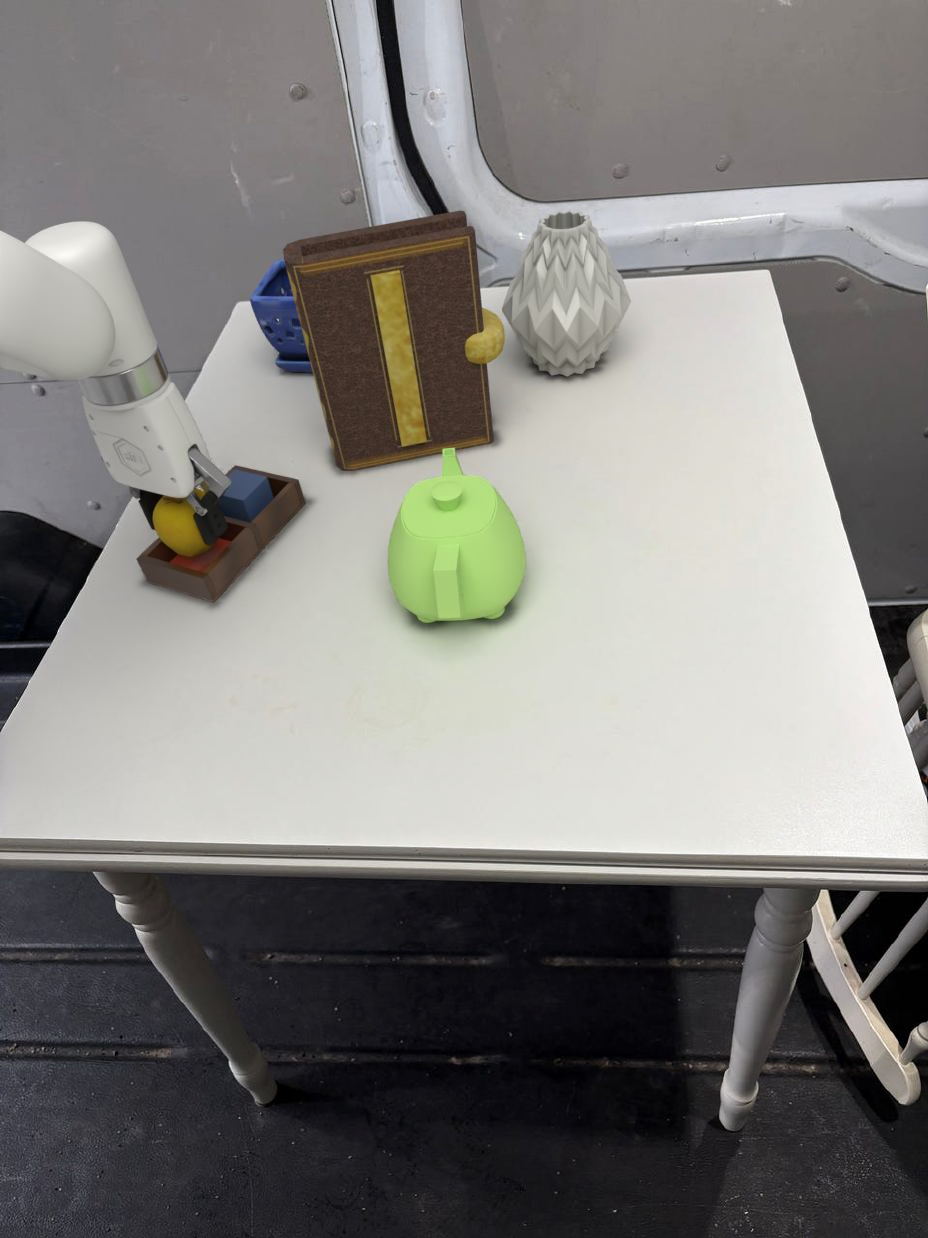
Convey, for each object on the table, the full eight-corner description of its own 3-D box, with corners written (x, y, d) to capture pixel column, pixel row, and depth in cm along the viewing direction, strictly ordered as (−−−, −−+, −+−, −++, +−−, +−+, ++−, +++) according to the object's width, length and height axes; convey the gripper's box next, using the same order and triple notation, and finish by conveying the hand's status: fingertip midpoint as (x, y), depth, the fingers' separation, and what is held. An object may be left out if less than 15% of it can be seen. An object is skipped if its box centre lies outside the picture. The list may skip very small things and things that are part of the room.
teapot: (402, 529, 92) (382, 431, 83) (524, 520, 90) (517, 420, 82) (387, 667, 78) (361, 567, 69) (531, 659, 77) (524, 556, 68)
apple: (162, 572, 87) (133, 512, 82) (178, 533, 92) (151, 473, 86) (222, 568, 87) (197, 507, 81) (234, 528, 91) (211, 468, 85)
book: (338, 478, 99) (285, 270, 82) (332, 440, 105) (281, 238, 88) (518, 442, 101) (504, 230, 83) (502, 406, 107) (486, 201, 89)
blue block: (223, 523, 95) (210, 492, 92) (246, 500, 98) (235, 468, 94) (254, 532, 93) (243, 500, 90) (277, 508, 96) (267, 476, 93)
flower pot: (380, 333, 124) (365, 252, 116) (359, 379, 115) (341, 295, 107) (295, 335, 127) (275, 256, 118) (269, 381, 118) (244, 299, 109)
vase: (615, 397, 106) (620, 250, 92) (492, 388, 110) (479, 246, 97) (637, 335, 116) (644, 194, 103) (524, 328, 121) (516, 193, 107)
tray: (213, 602, 86) (203, 578, 84) (147, 582, 90) (135, 558, 87) (305, 503, 97) (298, 479, 94) (243, 488, 100) (235, 464, 98)
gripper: (23, 381, 75) (104, 534, 88) (170, 411, 69) (234, 571, 82) (82, 342, 80) (151, 492, 93) (225, 366, 73) (278, 525, 86)
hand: (189, 528), depth 87 cm, fingers closed on apple, 6 cm apart
